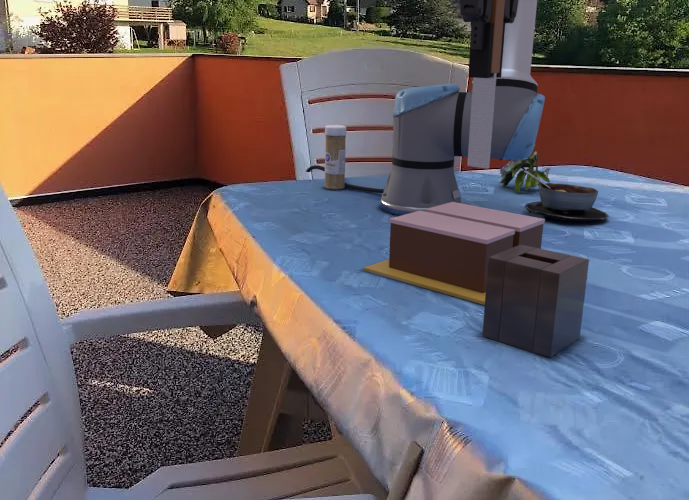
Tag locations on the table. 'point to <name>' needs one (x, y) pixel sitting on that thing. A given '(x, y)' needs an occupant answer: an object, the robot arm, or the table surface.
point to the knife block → (535, 299)
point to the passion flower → (516, 164)
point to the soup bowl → (566, 202)
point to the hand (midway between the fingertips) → (484, 77)
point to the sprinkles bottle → (335, 157)
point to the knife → (485, 98)
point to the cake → (454, 247)
